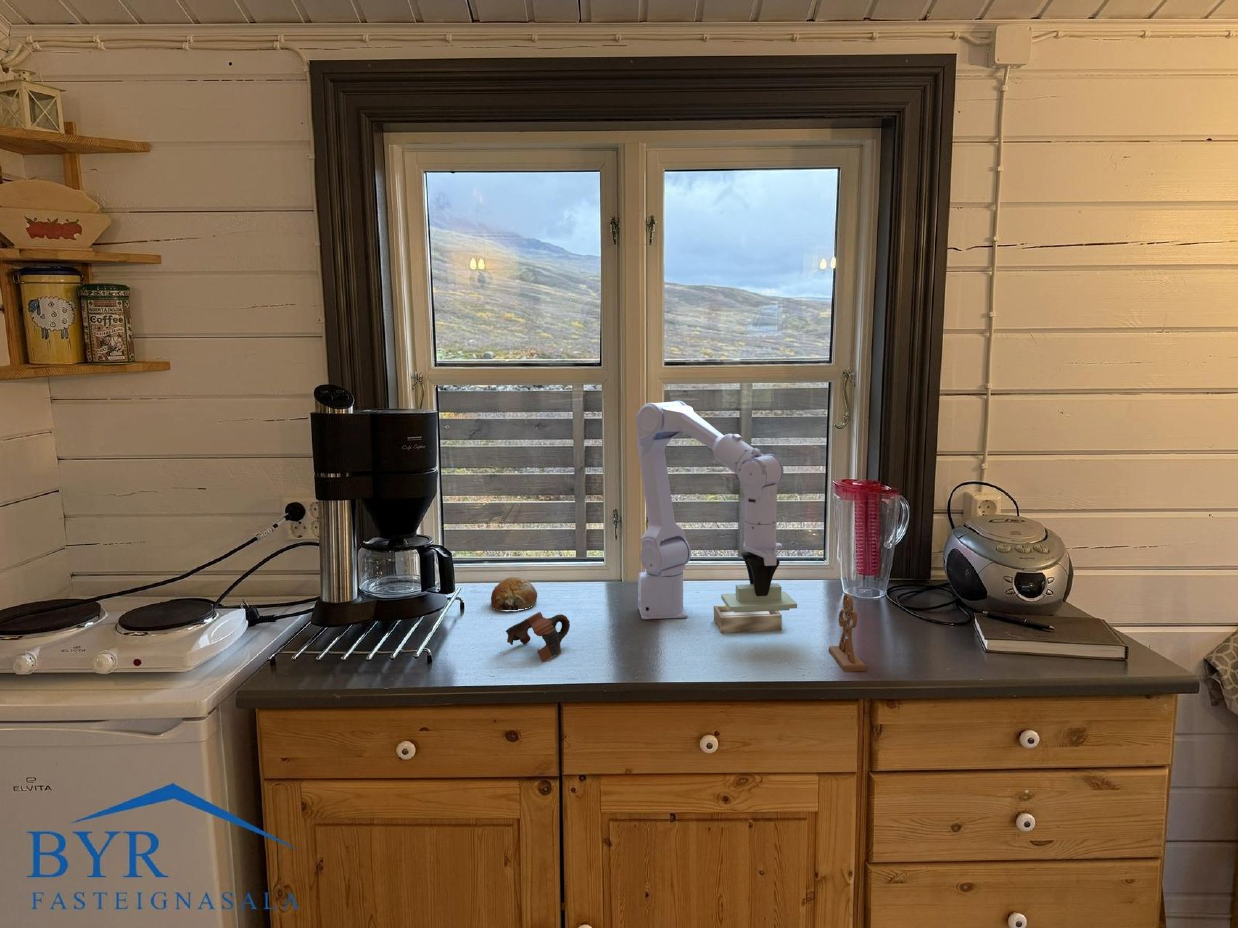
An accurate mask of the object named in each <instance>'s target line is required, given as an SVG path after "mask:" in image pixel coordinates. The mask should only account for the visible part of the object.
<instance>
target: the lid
mask: <svg viewBox="0 0 1238 928" xmlns="http://www.w3.org/2000/svg"><path fill="white" fill-rule="evenodd" d="M720 597H721V600H722V602H723V603H724V604H725V605H726V606H727V608H728V609H729V611H734V613H737V612H760V611H779V612H780V611H790V609H798V603H797V602H796V601H795V600H794V599H793V598H792V597H791V596H790V594H789V593H787V592H786V591H783V590H782V586H781V585H780V584H779V583H778V582H776V583H775V582H773V583H772V582H771V585H770V589H769V593H768V596H756V594H755V590H754V584H750V583H749V584H748V583H747V584H735V593H721V595H720Z"/></svg>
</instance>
